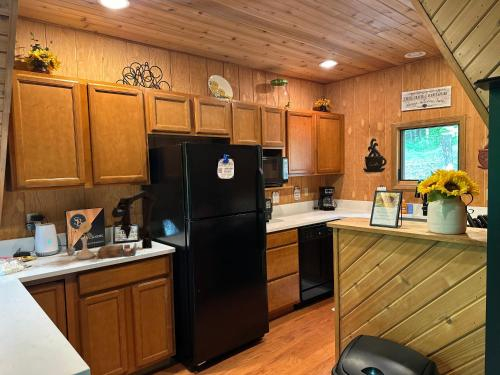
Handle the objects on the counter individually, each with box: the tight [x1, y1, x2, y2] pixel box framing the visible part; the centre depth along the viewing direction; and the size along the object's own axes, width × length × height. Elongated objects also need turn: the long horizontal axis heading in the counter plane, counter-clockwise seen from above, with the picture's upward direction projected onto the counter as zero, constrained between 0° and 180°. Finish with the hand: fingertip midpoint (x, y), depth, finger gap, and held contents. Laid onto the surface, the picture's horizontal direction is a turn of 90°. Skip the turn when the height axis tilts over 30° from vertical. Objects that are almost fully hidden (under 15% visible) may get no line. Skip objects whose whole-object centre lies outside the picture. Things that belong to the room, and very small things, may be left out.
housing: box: [97, 244, 124, 260], centre depth 234 cm, size 14×14×5 cm
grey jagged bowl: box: [121, 242, 138, 257], centre depth 236 cm, size 14×14×6 cm
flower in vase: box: [75, 220, 96, 260], centre depth 227 cm, size 13×11×25 cm
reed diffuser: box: [62, 226, 80, 256], centre depth 239 cm, size 10×7×20 cm
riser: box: [123, 244, 131, 249], centre depth 249 cm, size 4×4×4 cm
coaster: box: [123, 247, 133, 253], centre depth 236 cm, size 6×6×2 cm
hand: (127, 238), depth 236 cm, fingers closed
